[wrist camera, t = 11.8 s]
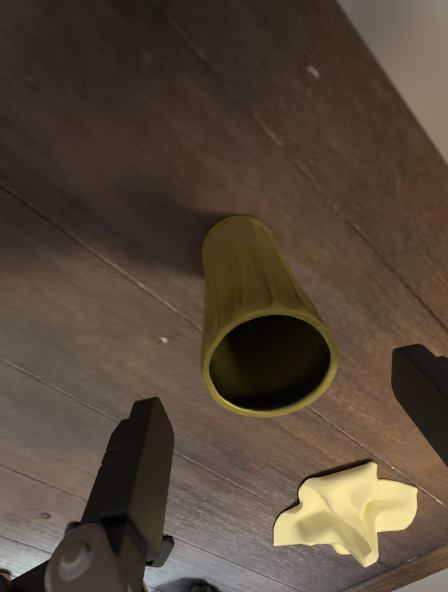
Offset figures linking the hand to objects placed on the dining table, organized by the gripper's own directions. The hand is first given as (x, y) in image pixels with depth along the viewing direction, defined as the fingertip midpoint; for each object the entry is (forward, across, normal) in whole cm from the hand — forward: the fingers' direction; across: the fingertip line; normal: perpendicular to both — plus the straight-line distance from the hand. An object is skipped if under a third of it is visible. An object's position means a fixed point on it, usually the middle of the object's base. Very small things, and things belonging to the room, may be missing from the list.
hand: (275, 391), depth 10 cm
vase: (+15, 0, 0) cm, 16 cm away
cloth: (+15, -6, +41) cm, 44 cm away
